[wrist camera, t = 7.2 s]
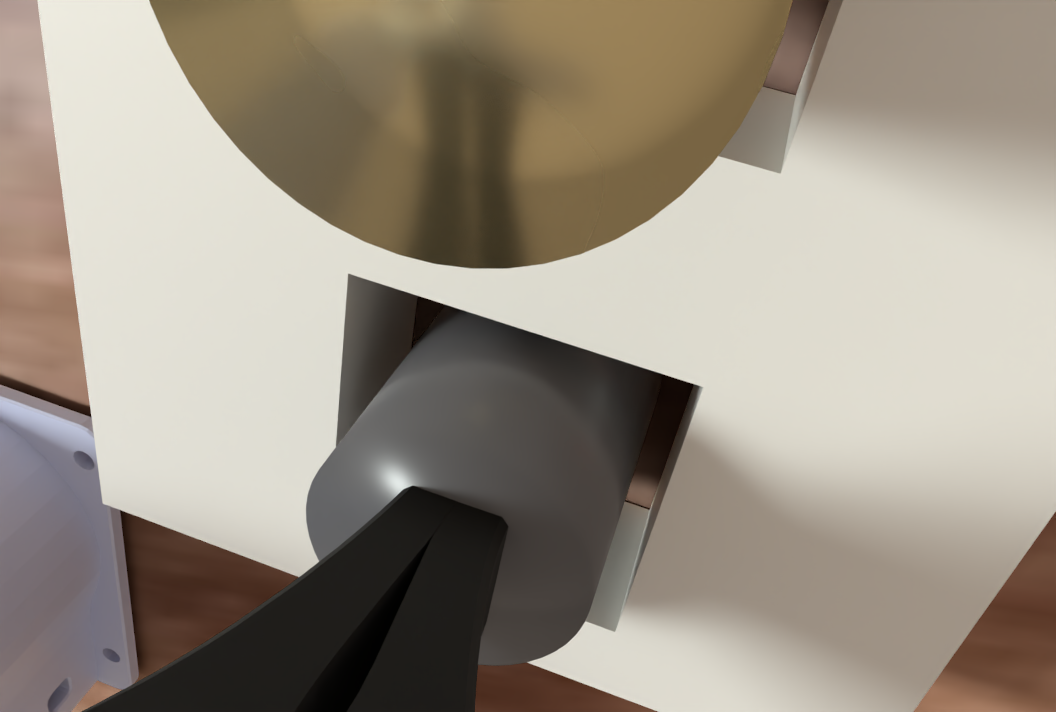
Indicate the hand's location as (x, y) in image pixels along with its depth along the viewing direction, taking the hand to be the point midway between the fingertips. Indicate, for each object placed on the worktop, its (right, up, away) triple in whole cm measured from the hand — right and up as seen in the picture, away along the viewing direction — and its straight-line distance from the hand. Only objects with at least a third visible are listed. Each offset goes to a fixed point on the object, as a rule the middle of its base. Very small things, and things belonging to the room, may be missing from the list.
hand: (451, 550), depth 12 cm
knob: (+1, +3, +4) cm, 5 cm away
